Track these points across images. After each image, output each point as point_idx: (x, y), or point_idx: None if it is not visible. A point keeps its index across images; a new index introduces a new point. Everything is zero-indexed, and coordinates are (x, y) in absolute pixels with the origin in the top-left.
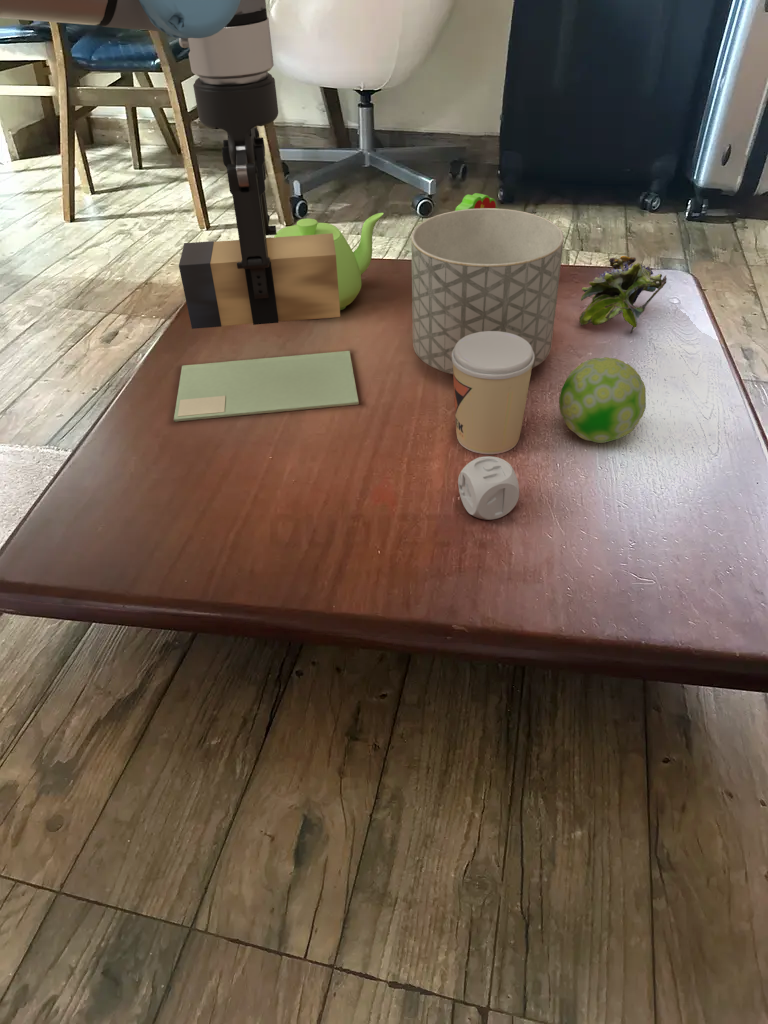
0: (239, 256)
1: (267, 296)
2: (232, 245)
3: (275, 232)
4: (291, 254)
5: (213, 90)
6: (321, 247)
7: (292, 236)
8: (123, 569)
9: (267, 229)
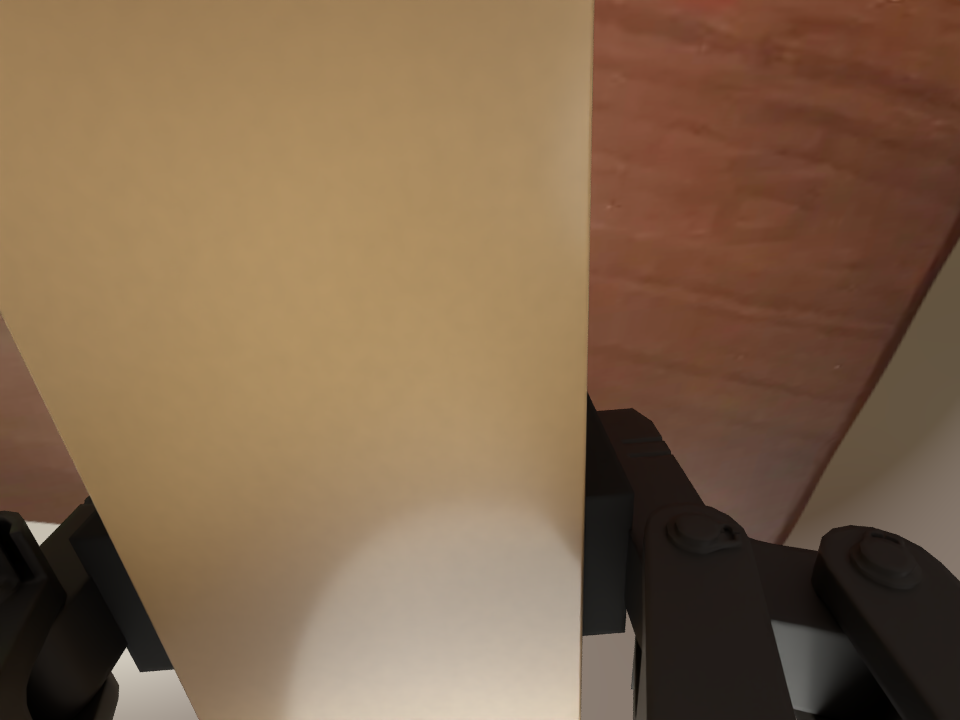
0: (500, 683)
1: (636, 415)
2: None
3: (18, 535)
4: (513, 362)
5: None
6: (337, 30)
7: (48, 384)
8: (778, 455)
9: (36, 615)
